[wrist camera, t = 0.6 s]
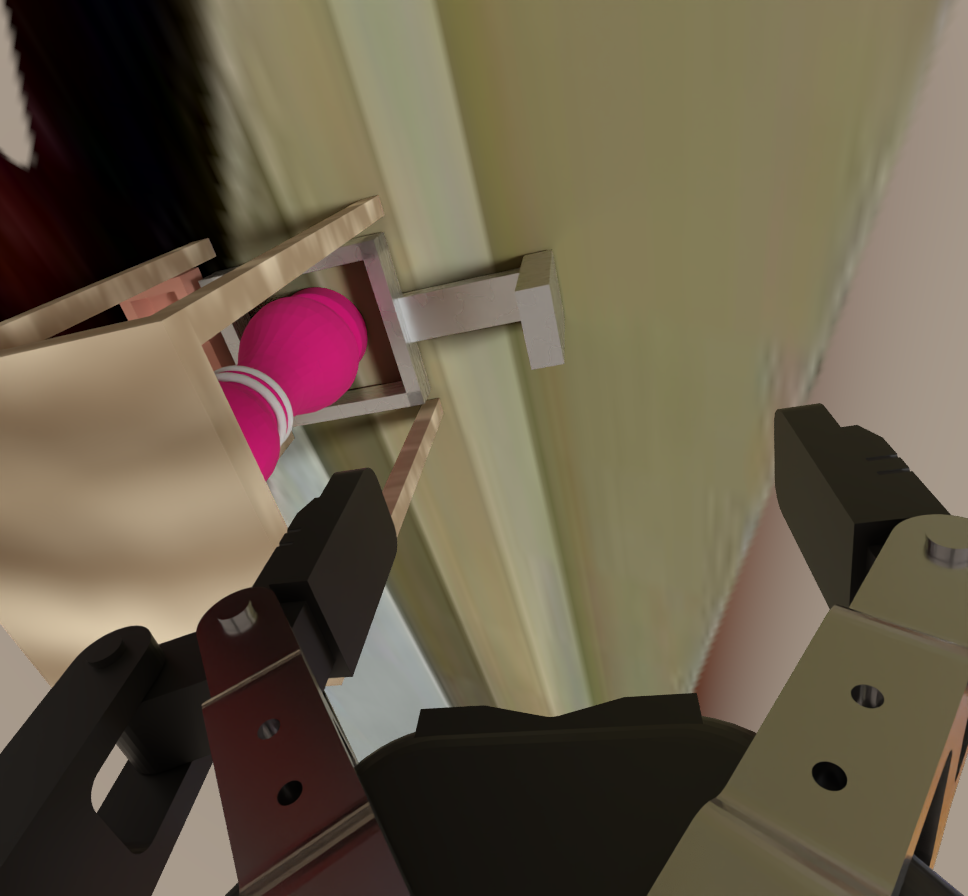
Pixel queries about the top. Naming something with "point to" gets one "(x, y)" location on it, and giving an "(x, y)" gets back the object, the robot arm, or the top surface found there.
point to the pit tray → (169, 294)
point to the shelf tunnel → (144, 455)
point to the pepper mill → (292, 366)
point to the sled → (436, 320)
